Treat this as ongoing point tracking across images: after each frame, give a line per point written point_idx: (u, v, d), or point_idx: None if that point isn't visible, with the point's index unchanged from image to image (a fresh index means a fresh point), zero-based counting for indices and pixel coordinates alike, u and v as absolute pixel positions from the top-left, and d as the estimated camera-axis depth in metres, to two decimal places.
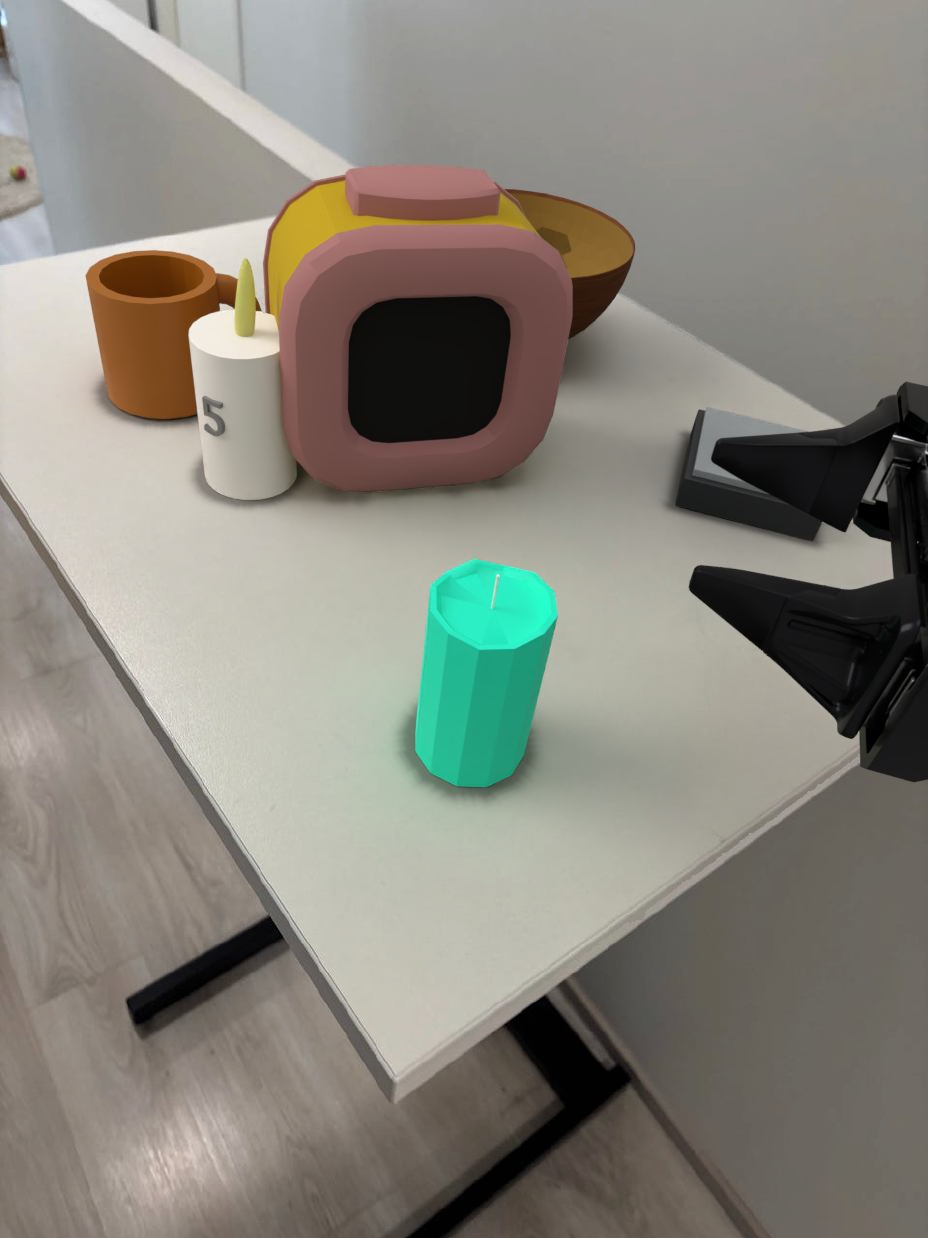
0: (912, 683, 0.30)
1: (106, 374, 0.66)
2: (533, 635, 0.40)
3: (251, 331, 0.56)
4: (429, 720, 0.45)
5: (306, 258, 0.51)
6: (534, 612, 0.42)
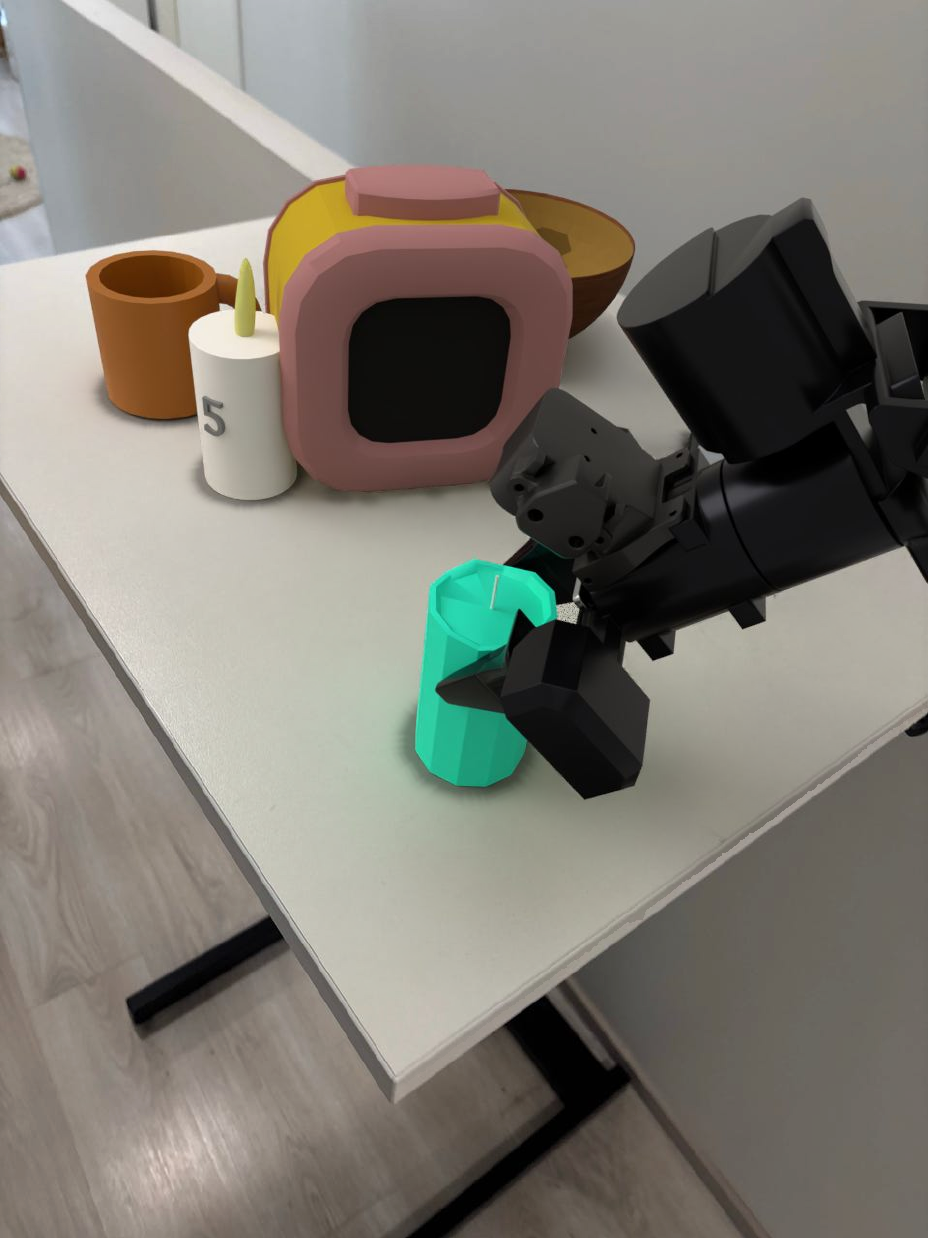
0: None
1: (106, 374, 0.66)
2: None
3: (251, 331, 0.56)
4: (429, 720, 0.45)
5: (306, 258, 0.51)
6: (534, 613, 0.42)
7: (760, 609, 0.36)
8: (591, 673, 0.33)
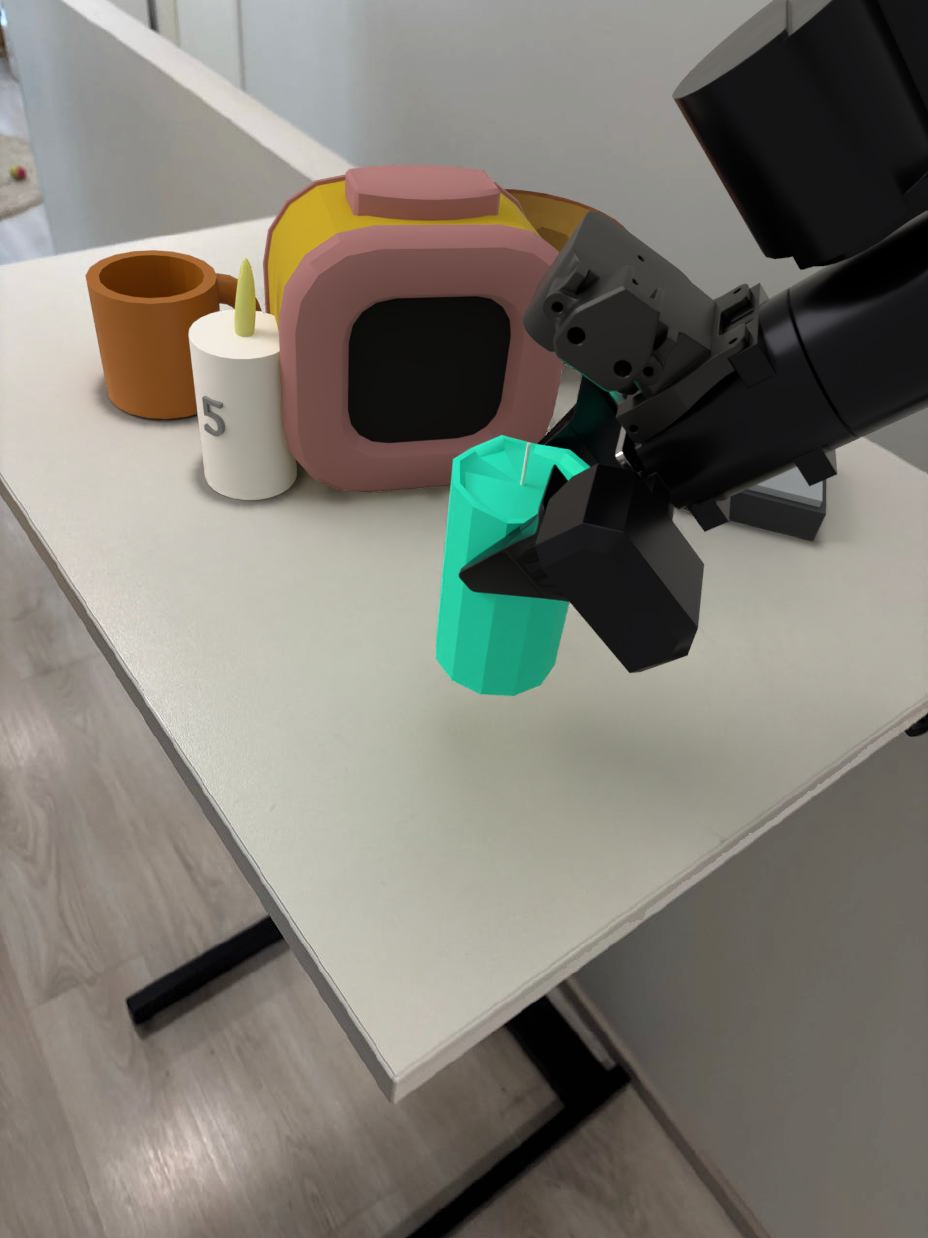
0: None
1: (106, 374, 0.66)
2: None
3: (251, 331, 0.56)
4: (451, 618, 0.41)
5: (306, 258, 0.51)
6: None
7: (831, 460, 0.31)
8: (640, 518, 0.29)
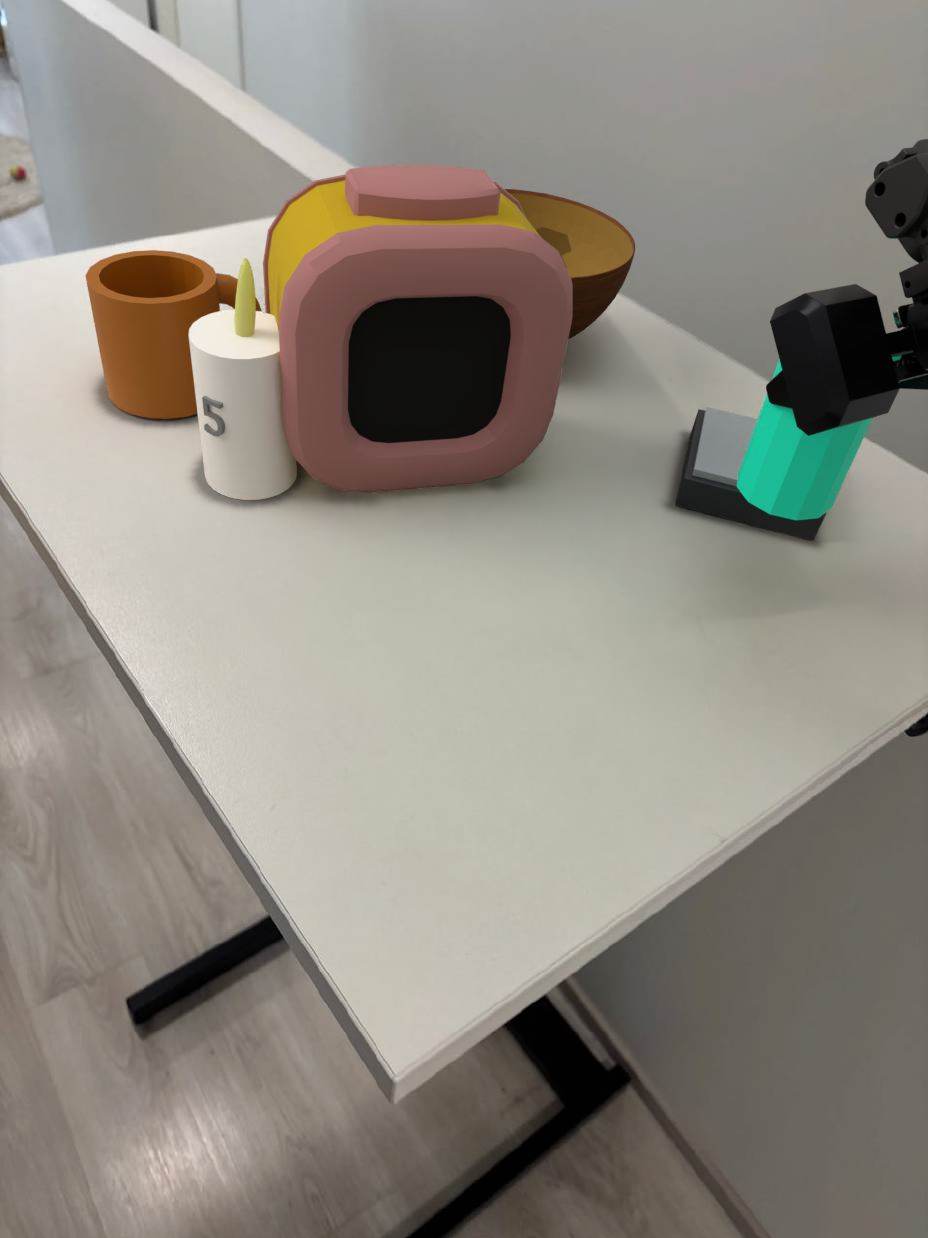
0: None
1: (106, 374, 0.66)
2: None
3: (251, 331, 0.56)
4: (755, 432, 0.55)
5: (306, 258, 0.51)
6: None
7: None
8: (851, 314, 0.41)
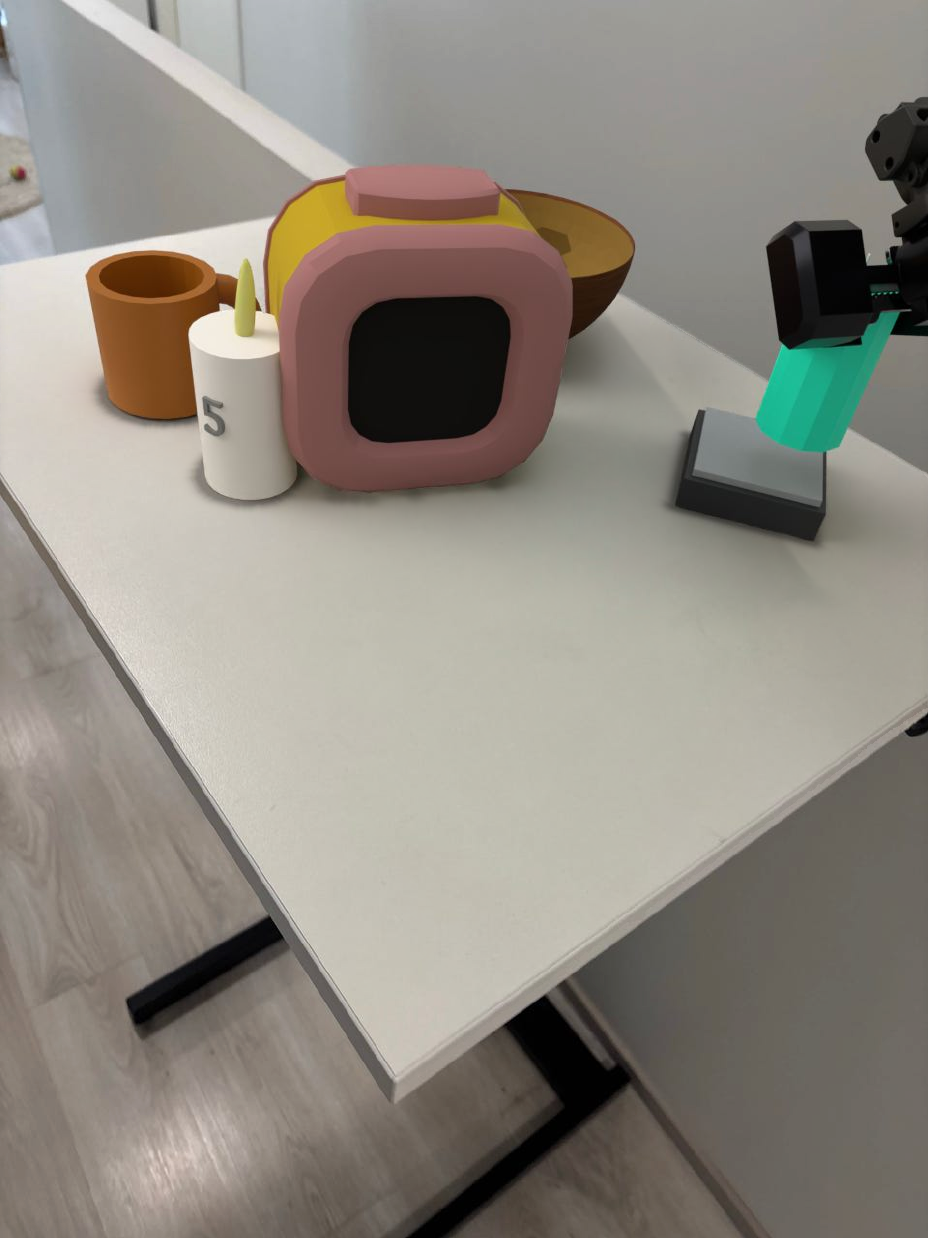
0: None
1: (106, 374, 0.66)
2: None
3: (251, 331, 0.56)
4: None
5: (306, 258, 0.51)
6: None
7: None
8: (833, 241, 0.47)
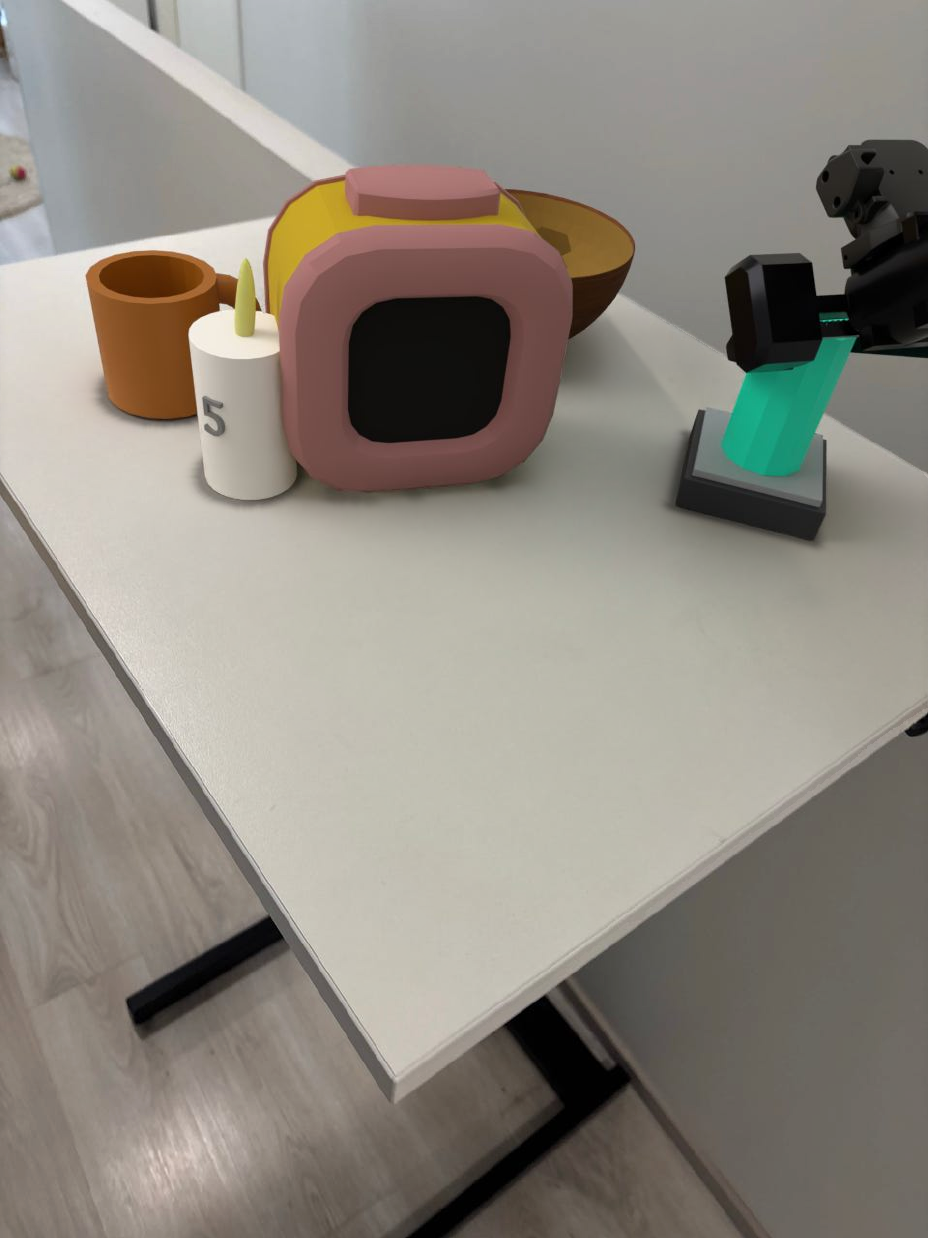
0: None
1: (106, 374, 0.66)
2: None
3: (251, 331, 0.56)
4: None
5: (306, 258, 0.51)
6: None
7: None
8: (785, 274, 0.51)
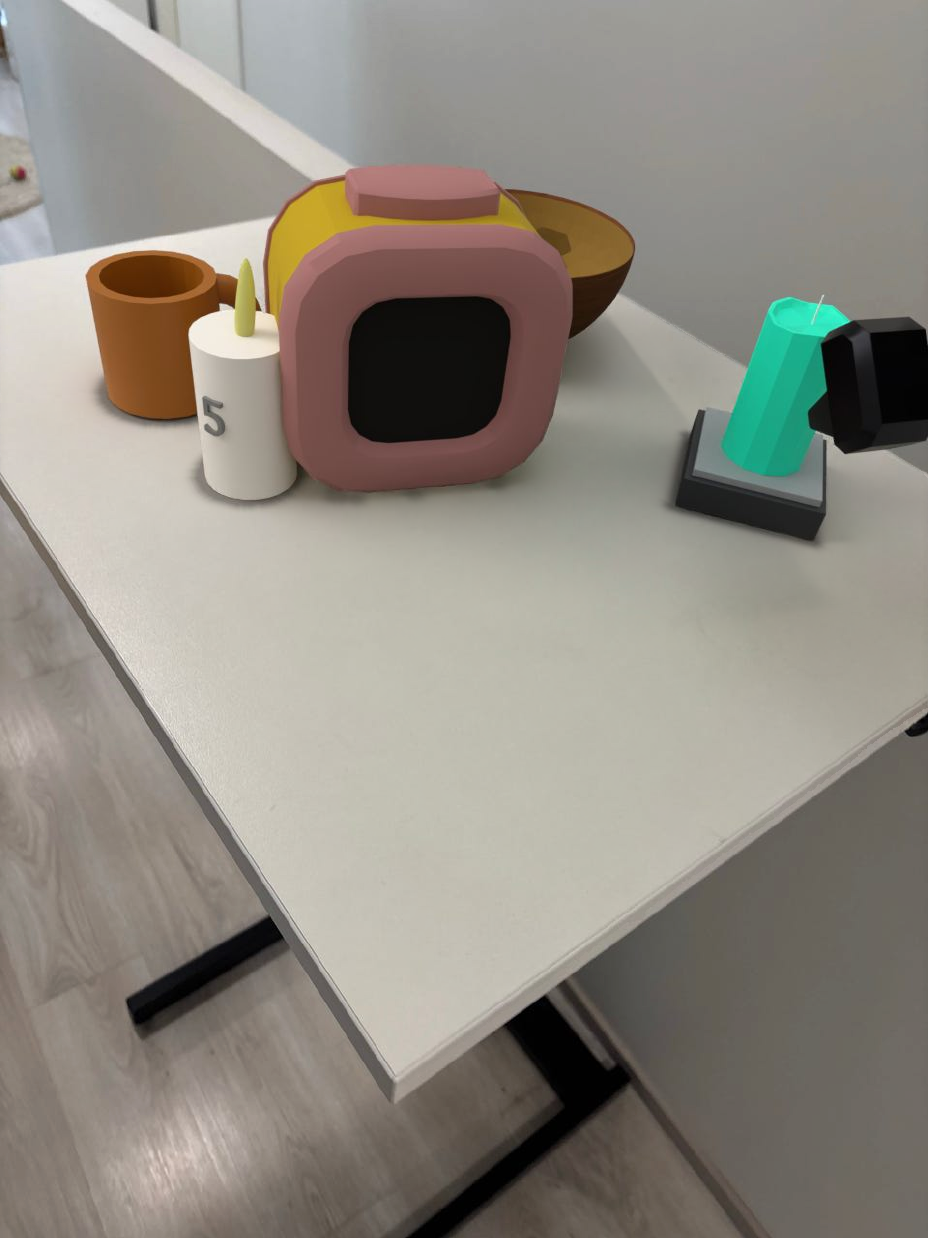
0: None
1: (106, 374, 0.66)
2: (812, 333, 0.57)
3: (251, 331, 0.56)
4: None
5: (306, 258, 0.51)
6: None
7: None
8: (895, 343, 0.44)
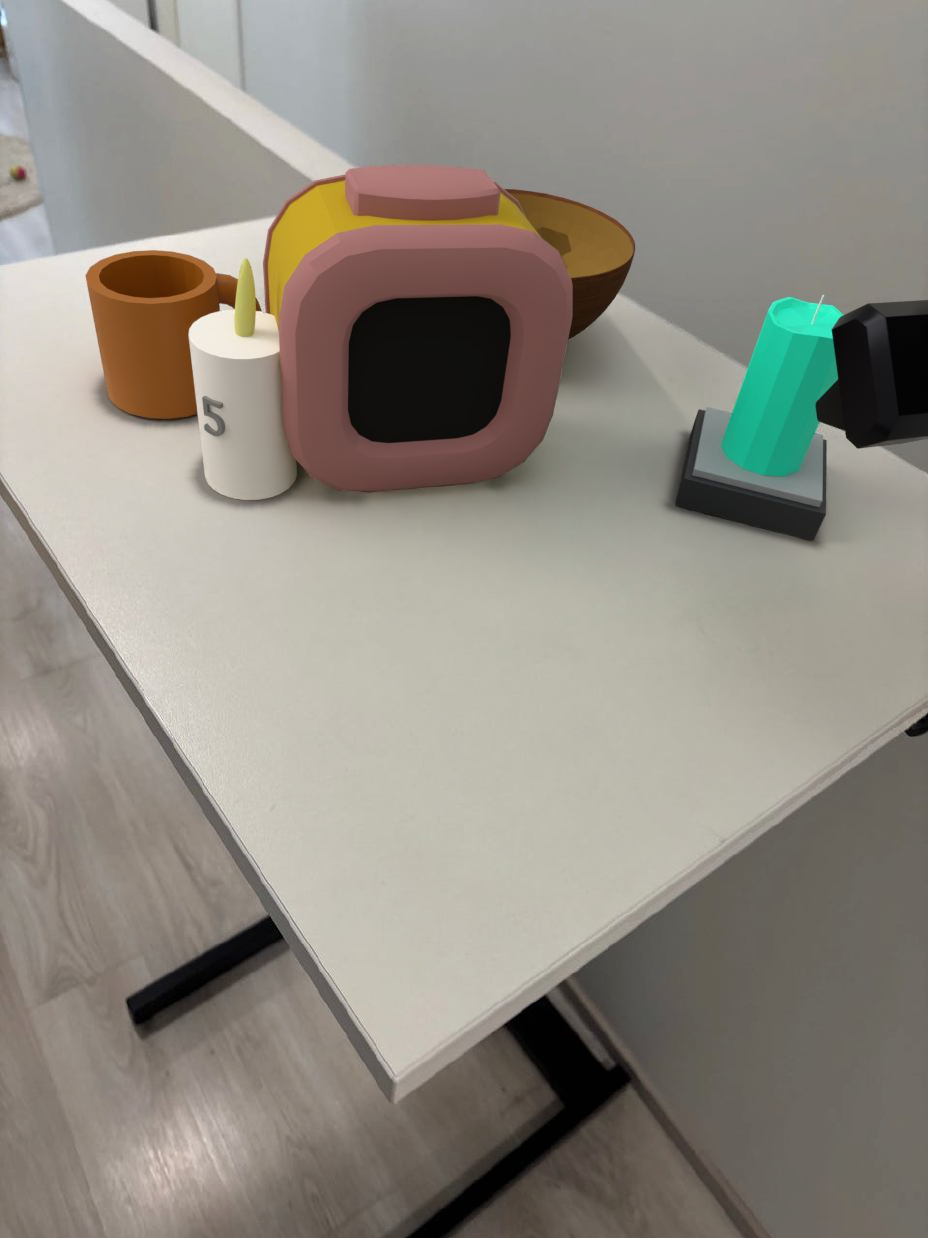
0: None
1: (106, 374, 0.66)
2: (812, 333, 0.57)
3: (251, 331, 0.56)
4: None
5: (306, 258, 0.51)
6: None
7: None
8: (913, 328, 0.40)
